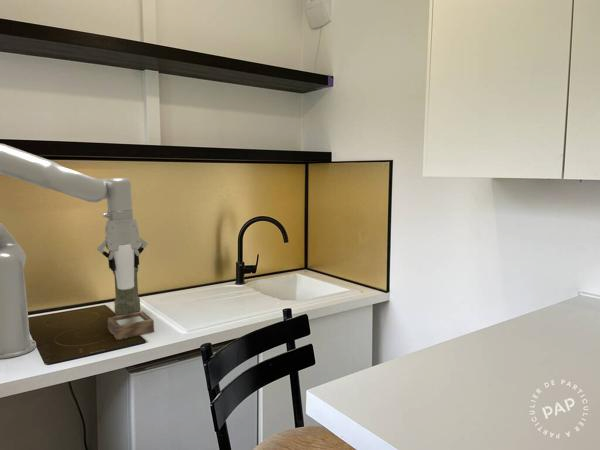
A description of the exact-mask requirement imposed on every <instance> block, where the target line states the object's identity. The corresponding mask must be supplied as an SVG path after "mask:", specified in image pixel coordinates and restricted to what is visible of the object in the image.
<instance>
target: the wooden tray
mask: <svg viewBox="0 0 600 450" xmlns="http://www.w3.org/2000/svg"><path fill="white" fill-rule="evenodd" d="M107 329H108V331H109V332H110V334H113V335H114V336H113V335H112V336H113V338H115V339H116V341H119V340H123V338H124V339H128V337H129V338H132V337H138V336H142V335H148V334H151V333H155V322H154V319H153V318H152V317H150V315H148V314H147V313H146V312H145V311H143V310H140V312H136V313H130V314H125V315H120V316H116V315H115V316H109V317H107ZM118 339H119V340H118Z"/></svg>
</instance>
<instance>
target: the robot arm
mask: <svg viewBox="0 0 600 450" xmlns="http://www.w3.org/2000/svg"><path fill="white" fill-rule="evenodd" d="M2 175H3V176H7V177H10V178H14V179H16V180H20V181H23V182H25V183H28V184H32V185H34V186H37V187H40V188H44V189H46V190H51V191H55V192H58V193H61V194H64V195H66V196H69V197H73V198H76V199H79V200H82V201H85V202H87V203H88V202H89V203H99V202H102V201H103V200H106V203H107V204H106V205H107V206H106V207H107V211H106V212H103V215H102V217H103V218H107V219H108V220H106V222H105V232H104V233H105V236H104V237H105V239H104V240H103V241H102V242H101V244H99V245H98V246H97V247H96V251H98V252H99V253H100V254H102V255H103V256H104V257H105V258H107V259H108V260H107V261H108V269H110V270H111V271H112V272H113V271H115V260H114V259H113V256H114V251H118V250H119V246H122V245H131V249H134V267H135V268H138V269H139V265H140V258H139V257H140V255H141V254H142V252H143V251H144V250H145V248H146V247H147V246H148V242H147V241H145V239H143V238H142V237H140V233H139V226H138V222H137V218H134V213H133V201H132V199H133V198H132V186H131V185H132V183H131V179H129V178H127V177H110V178H98V177H93V176H90V175H87V174H85V173H81V172H79V171H77V170H73V169H71V168H68V167H66V166H63V165H61V164H59V163H57V162H55V161H53V160H51V159H47V158H44V157H42V156H38V155H36V154H33V153H30V152H27V151H24V150H22V149H19V148H16V147H13V146H11V145H7V144H5V143H0V176H2ZM104 248H106V250H108V252H107V251H106V250H105V249H104ZM26 262H27V254H26V253H25V251H24V249H23V248H22V246H21V245H20V244H19V243H18V242H17V240H16V239H15V238H14V236H12V234H11V233H10V232H9V230H8V229H7V228H6V227H5V225H3V223H2V222H1V221H0V359H10V358H15V357H19V356H22V355H26V354H29V352H31V351H33V350H36V349H35V348H36V347H37V342H36V341H35V339H34V340H33V339H31V335H30V325H29V313H28V312H29V311H28V299H27V287H26V280H25V265H26Z"/></svg>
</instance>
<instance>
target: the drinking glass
mask: <svg viewBox="0 0 600 450" xmlns="http://www.w3.org/2000/svg"><path fill="white" fill-rule="evenodd" d="M113 259H114V260H115V274H116V280H117V288H118V289H120V290H126V289H131V288H133V287H134V249H131V245H122V246H119V250H118V251H114V256H113Z"/></svg>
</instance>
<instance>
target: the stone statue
mask: <svg viewBox="0 0 600 450" xmlns="http://www.w3.org/2000/svg"><path fill="white" fill-rule="evenodd" d="M112 273H113V276H114V291H115V298H114V301H113V303H114V313H115V316H120V315H125V314H130V313H136V312H141V299H140V296H139V288H138V273H139V267H138V268H135V267H134V287H133V288H131V289H126V290H120V289H118V288H117V280H116V274H115V271H112Z"/></svg>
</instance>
